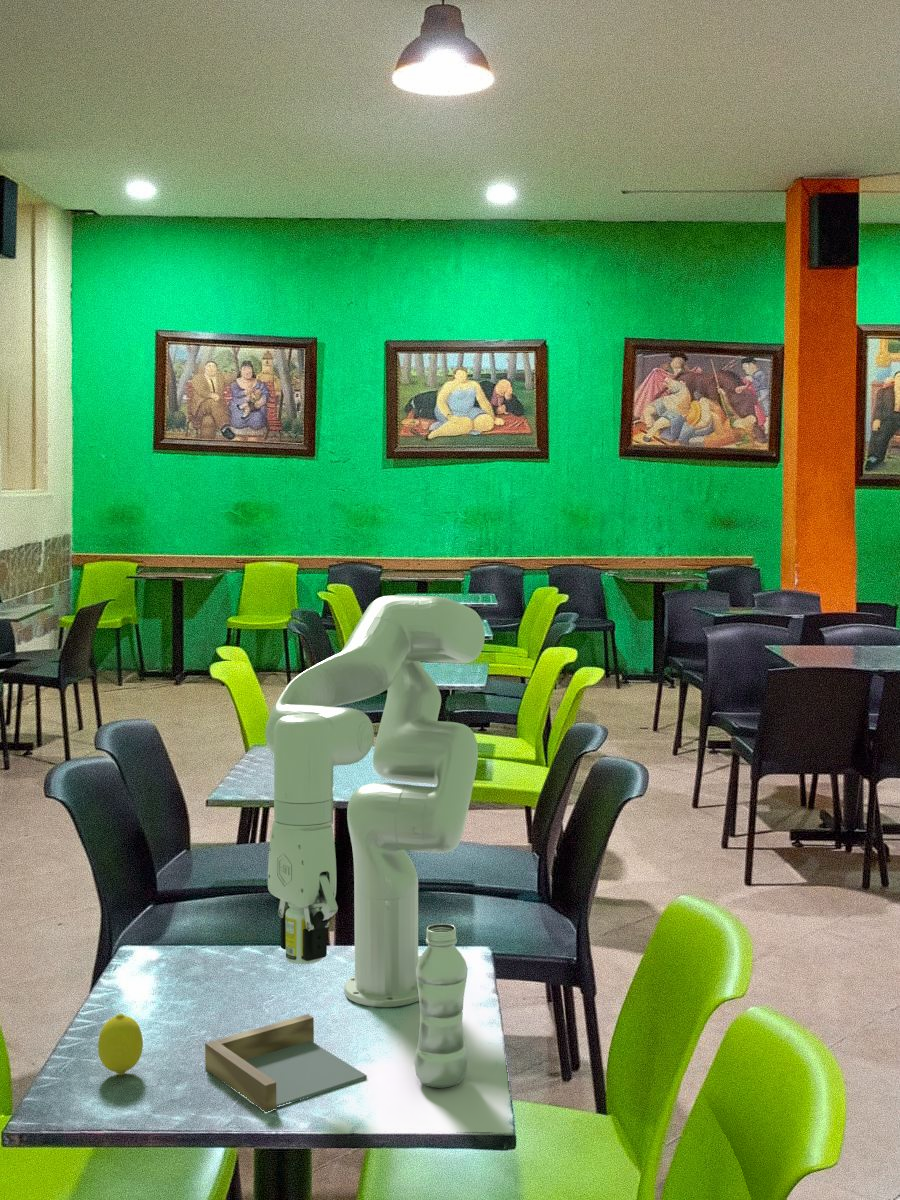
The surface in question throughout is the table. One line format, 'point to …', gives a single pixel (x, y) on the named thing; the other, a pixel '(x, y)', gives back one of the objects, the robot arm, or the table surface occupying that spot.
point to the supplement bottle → (296, 934)
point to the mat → (305, 1071)
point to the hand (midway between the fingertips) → (303, 951)
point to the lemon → (120, 1044)
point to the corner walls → (232, 1052)
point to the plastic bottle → (441, 1009)
